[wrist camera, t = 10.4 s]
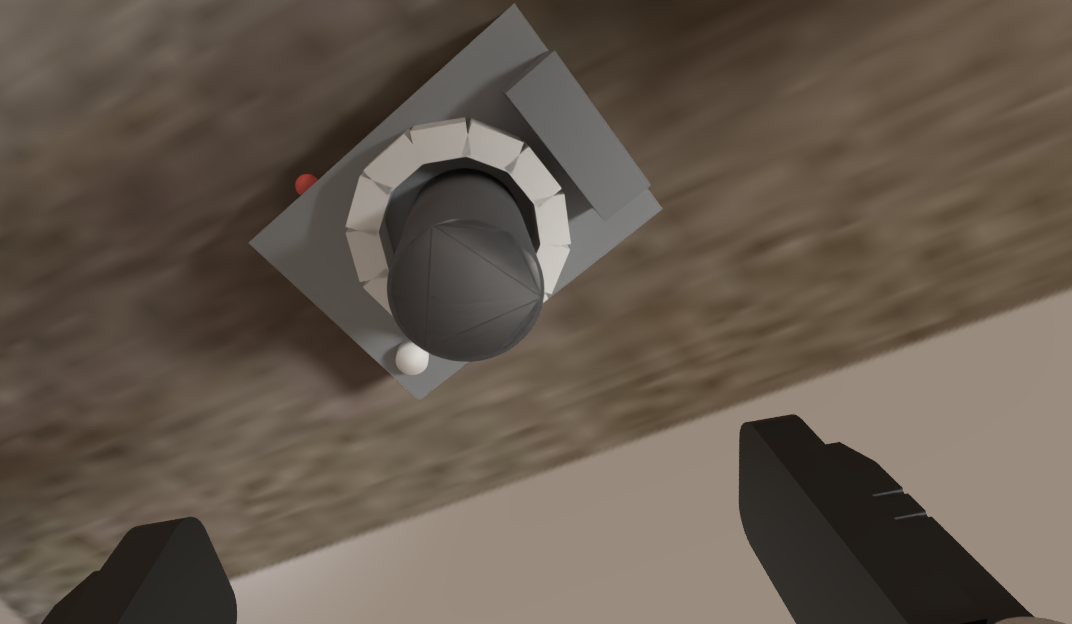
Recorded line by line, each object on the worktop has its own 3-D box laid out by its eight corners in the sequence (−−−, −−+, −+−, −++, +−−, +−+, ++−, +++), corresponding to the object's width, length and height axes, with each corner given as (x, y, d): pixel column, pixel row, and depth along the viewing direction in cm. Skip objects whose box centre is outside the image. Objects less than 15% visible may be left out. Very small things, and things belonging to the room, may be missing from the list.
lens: (398, 178, 24) (369, 229, 17) (511, 159, 24) (532, 202, 17) (422, 284, 26) (406, 373, 18) (528, 266, 26) (553, 347, 19)
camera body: (497, 0, 26) (508, -20, 20) (634, 188, 30) (681, 222, 23) (269, 206, 28) (213, 249, 22) (424, 357, 32) (415, 429, 26)
